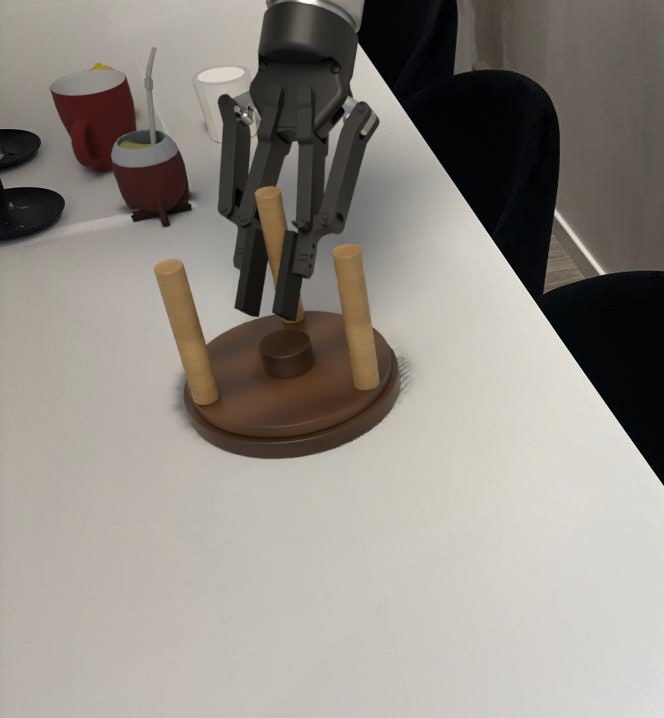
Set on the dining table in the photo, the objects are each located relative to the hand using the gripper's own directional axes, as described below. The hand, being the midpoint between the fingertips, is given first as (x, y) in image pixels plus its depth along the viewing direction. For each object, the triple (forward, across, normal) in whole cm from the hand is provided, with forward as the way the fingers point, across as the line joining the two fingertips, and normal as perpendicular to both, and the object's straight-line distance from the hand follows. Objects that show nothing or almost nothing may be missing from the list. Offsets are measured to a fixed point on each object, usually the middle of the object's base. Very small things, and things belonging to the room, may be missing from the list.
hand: (265, 314), depth 77 cm
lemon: (-27, +43, -34) cm, 61 cm away
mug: (-18, +36, -25) cm, 47 cm away
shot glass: (-28, +28, -35) cm, 53 cm away
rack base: (+6, -3, -2) cm, 6 cm away
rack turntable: (+4, -3, 0) cm, 5 cm away
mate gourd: (-13, +25, -20) cm, 35 cm away
